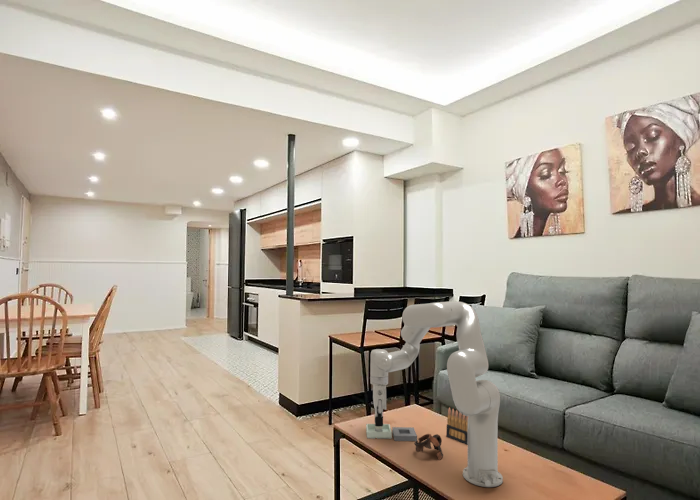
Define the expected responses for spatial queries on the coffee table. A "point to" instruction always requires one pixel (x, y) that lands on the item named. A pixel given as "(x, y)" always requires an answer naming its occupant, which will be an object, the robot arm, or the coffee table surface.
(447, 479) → the coffee table surface
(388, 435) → the parts tray
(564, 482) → the coffee table surface
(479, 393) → the robot arm
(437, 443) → the pottery mug
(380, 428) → the cylinder
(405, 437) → the socket block
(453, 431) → the ammunition clip
